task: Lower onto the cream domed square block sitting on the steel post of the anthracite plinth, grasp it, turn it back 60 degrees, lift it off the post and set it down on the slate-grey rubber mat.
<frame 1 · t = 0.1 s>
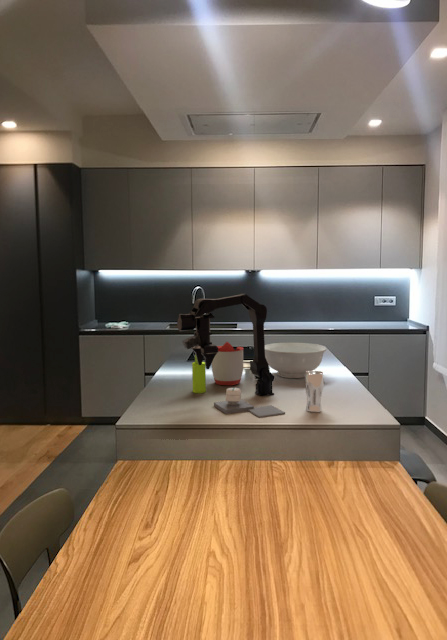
hand: (203, 367, 210), 15 cm above the table, fingers open, 9 cm apart
bowl: (293, 375, 259), on the table
cream domed square block: (233, 399, 201), point 3 cm above the table, touching plinth
plinth: (233, 408, 202), on the table
mat: (265, 411, 196), on the table
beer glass: (313, 410, 197), on the table
soap dispenser: (200, 391, 228), on the table
citrus juicer: (228, 383, 244), on the table
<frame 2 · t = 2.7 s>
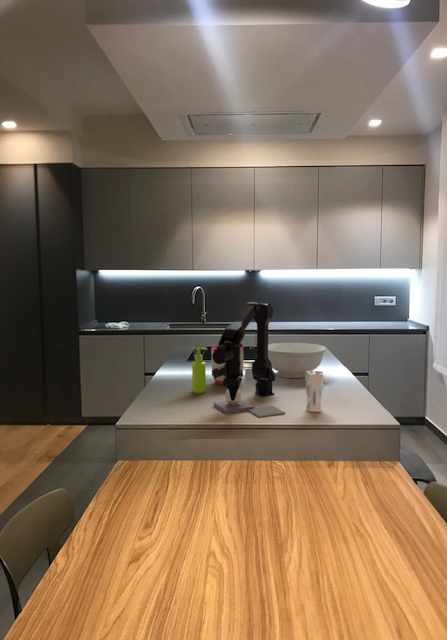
hand: (233, 398, 201), 4 cm above the table, fingers closed on cream domed square block, 6 cm apart
cream domed square block: (233, 399, 201), point 3 cm above the table, touching gripper, plinth
everything else where it was.
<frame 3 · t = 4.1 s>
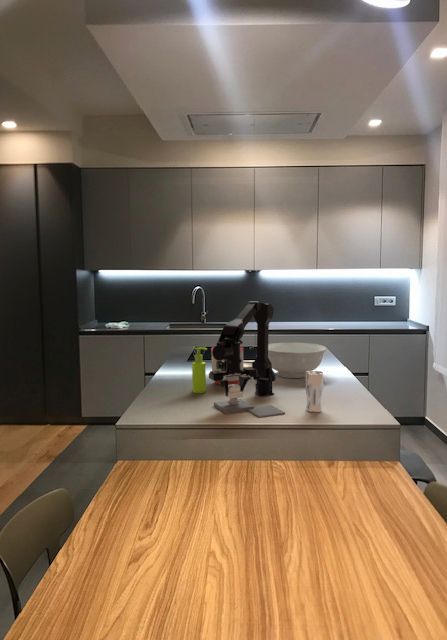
hand: (233, 395, 201), 5 cm above the table, fingers closed on cream domed square block, 6 cm apart
cream domed square block: (233, 396, 201), point 5 cm above the table, touching gripper
everything else where it was.
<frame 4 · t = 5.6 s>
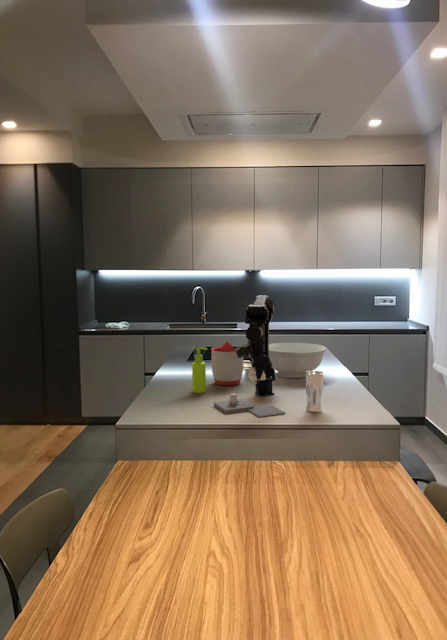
hand: (257, 377, 196), 13 cm above the table, fingers closed on cream domed square block, 6 cm apart
cream domed square block: (256, 378, 196), point 13 cm above the table, touching gripper
everything else where it was.
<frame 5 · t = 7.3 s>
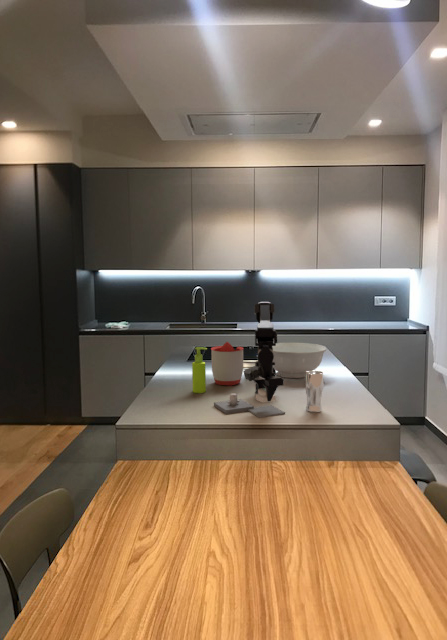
hand: (265, 399, 195), 5 cm above the table, fingers closed on cream domed square block, 6 cm apart
cream domed square block: (265, 399, 195), point 5 cm above the table, touching gripper
everything else where it was.
when the fingers open (3 cm above the table, at t = 8.7 s): cream domed square block drops 2 cm, resting on mat.
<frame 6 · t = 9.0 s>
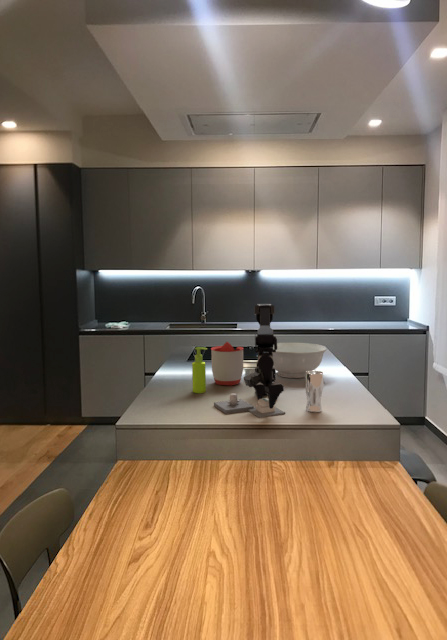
hand: (265, 405, 196), 3 cm above the table, fingers open, 9 cm apart
cream domed square block: (265, 410, 196), point 1 cm above the table, touching mat
everything else where it was.
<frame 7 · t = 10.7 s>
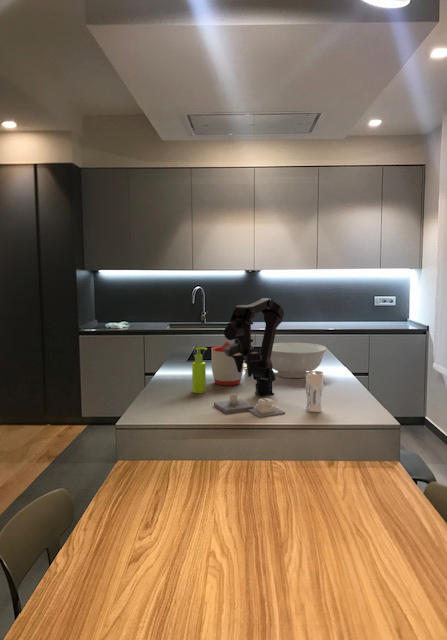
hand: (244, 374, 208), 12 cm above the table, fingers open, 9 cm apart
nothing on the table moved.
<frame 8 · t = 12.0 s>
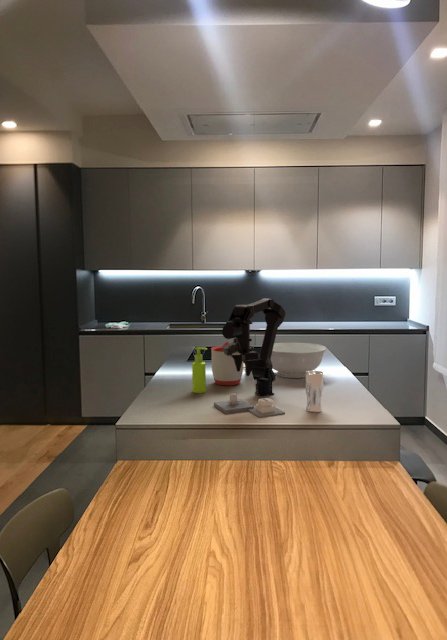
hand: (243, 373, 208), 12 cm above the table, fingers open, 9 cm apart
nothing on the table moved.
at the end: cream domed square block 0.1 cm from the mat (horizontally); cream domed square block point 0.6 cm above the table; cream domed square block tilted 0° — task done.
